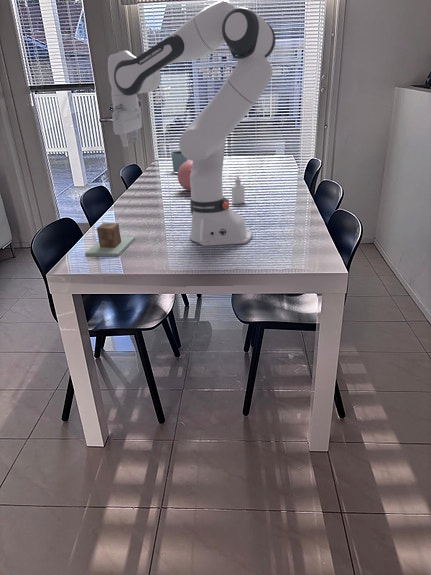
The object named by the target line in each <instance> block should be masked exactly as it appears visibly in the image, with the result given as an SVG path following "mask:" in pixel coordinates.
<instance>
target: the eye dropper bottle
mask: <svg viewBox="0 0 431 575" xmlns="http://www.w3.org/2000/svg"><path fill="white" fill-rule="evenodd" d="M234 181H235V182H234V184H233V185H232V187H231V203H232V204H234V205H240V204H244V203H245V201H246V199H245V197H246V196H245V186H244V185H243V184H242V182H241V181H242V180H241V179H240V177H239V175H237V176H236V178H235V179H234Z"/></svg>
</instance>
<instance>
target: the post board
mask: <svg viewBox="0 0 431 575" xmlns="http://www.w3.org/2000/svg"><path fill="white" fill-rule="evenodd" d="M120 237H121V243H120V244H119V245H118V246H117V247H116V248H105V247H100V244H99V240H98V241H96V243H95V244H93V245H92V246H91V247H90V248H89V249H88V250H86V251H85V253H84V255H85V257H87V256H89V257H90V256H91V257H92V256H93V257H120V256H121V255H122V254H124V252H125V251H126V250H127V249H128V248H129V247H130V246H131V244H133V242H134V241H135V240H136V238H135V236H120Z"/></svg>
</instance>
